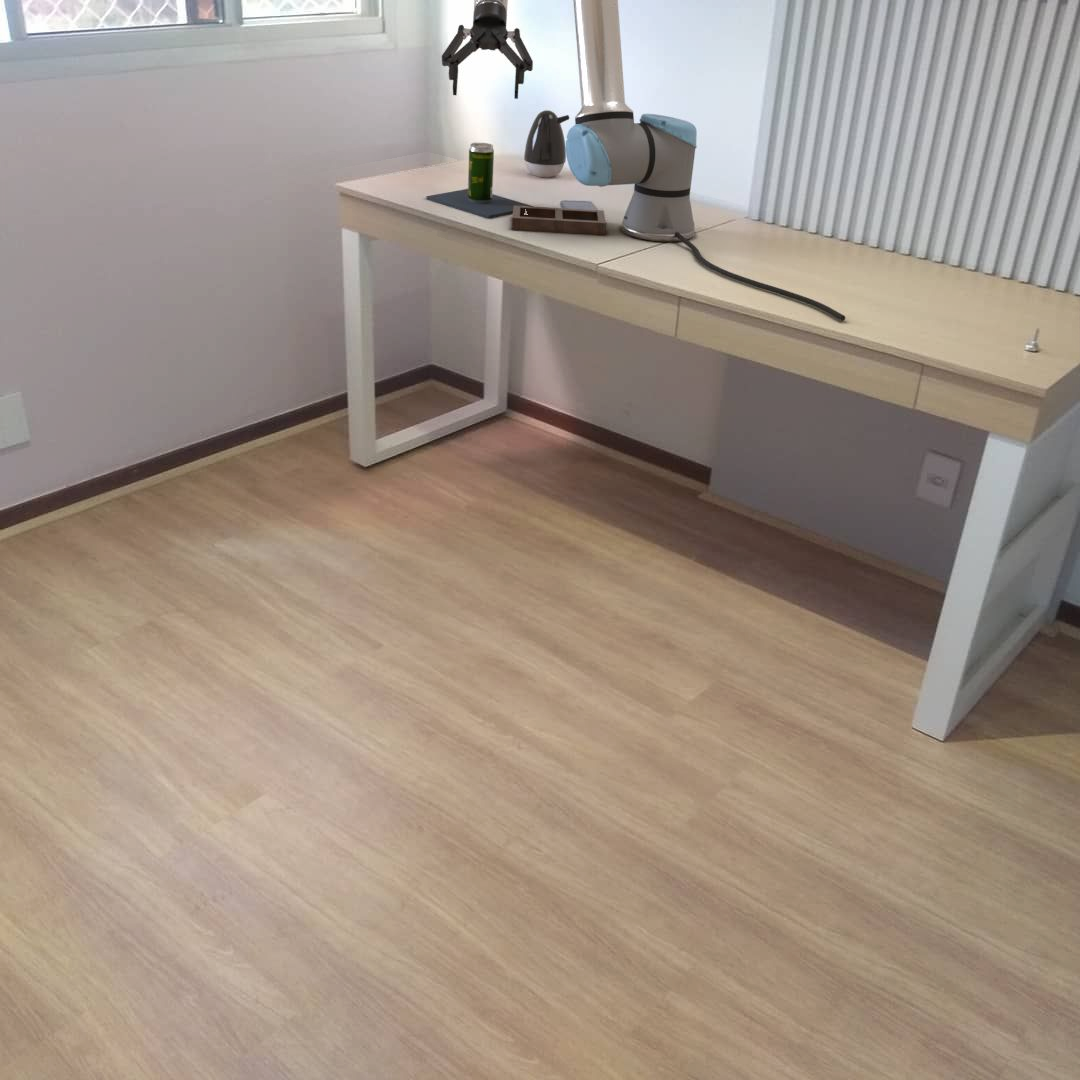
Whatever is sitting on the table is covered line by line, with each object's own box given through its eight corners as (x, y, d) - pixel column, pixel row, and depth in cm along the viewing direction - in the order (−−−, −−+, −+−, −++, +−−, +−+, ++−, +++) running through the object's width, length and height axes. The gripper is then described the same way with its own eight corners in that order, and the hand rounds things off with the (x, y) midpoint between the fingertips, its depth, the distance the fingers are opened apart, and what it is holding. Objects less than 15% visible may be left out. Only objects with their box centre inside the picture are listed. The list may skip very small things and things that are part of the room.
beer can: (491, 198, 260) (493, 142, 254) (492, 204, 255) (494, 148, 249) (467, 197, 259) (468, 141, 253) (468, 203, 254) (469, 147, 248)
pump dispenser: (565, 181, 281) (569, 115, 273) (522, 178, 281) (525, 112, 273) (565, 171, 290) (569, 108, 282) (524, 169, 290) (527, 105, 282)
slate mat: (534, 209, 256) (534, 206, 256) (488, 218, 247) (488, 215, 247) (471, 190, 268) (471, 187, 267) (426, 198, 258) (426, 196, 258)
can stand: (602, 222, 250) (603, 210, 248) (604, 235, 240) (605, 223, 239) (513, 217, 249) (513, 205, 248) (511, 229, 240) (512, 217, 239)
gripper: (545, 26, 265) (541, 106, 259) (435, 20, 265) (429, 100, 259) (546, 3, 258) (542, 85, 252) (434, -4, 257) (427, 78, 252)
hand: (485, 93), depth 256 cm, fingers open, 13 cm apart
